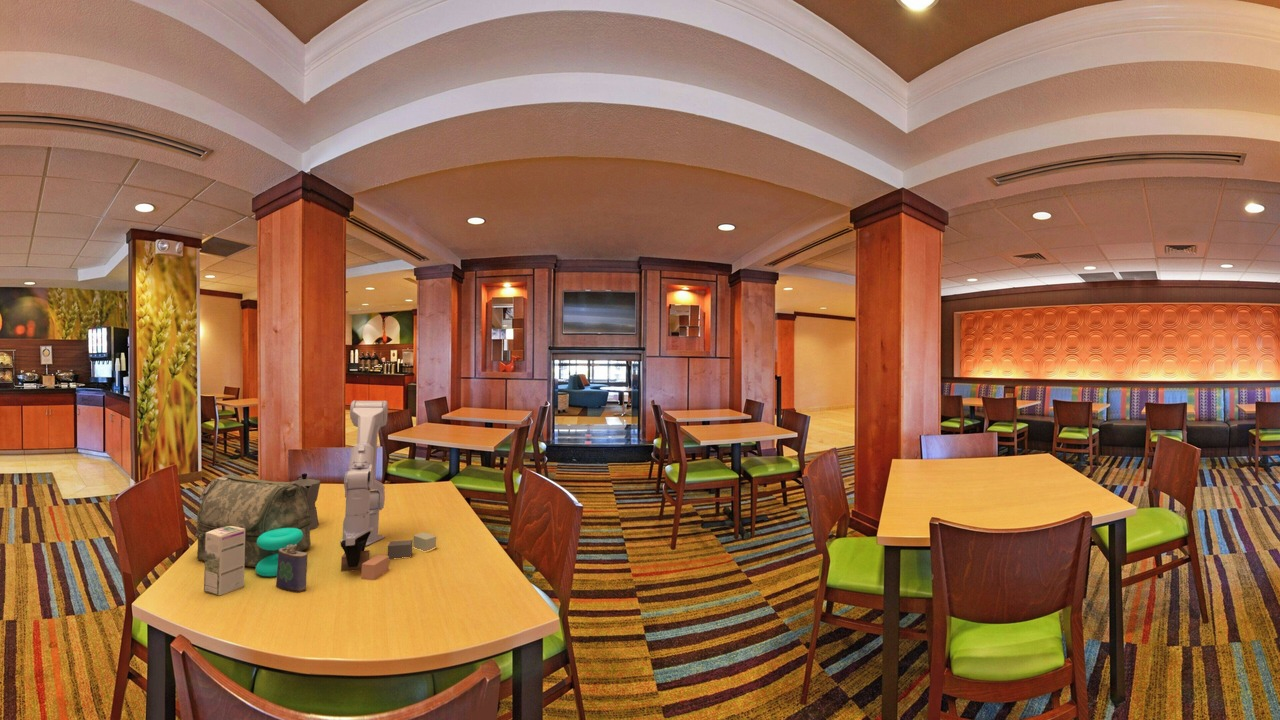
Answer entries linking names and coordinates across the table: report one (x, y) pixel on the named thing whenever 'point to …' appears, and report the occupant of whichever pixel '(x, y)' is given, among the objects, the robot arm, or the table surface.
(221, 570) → the syrup box
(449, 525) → the table surface
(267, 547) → the donuts
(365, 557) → the walnut block
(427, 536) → the sage block
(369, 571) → the terracotta block
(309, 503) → the coffeepot
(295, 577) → the flask
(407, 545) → the charcoal block
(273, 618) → the table surface
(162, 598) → the table surface
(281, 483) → the lunch bag
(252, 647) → the table surface
